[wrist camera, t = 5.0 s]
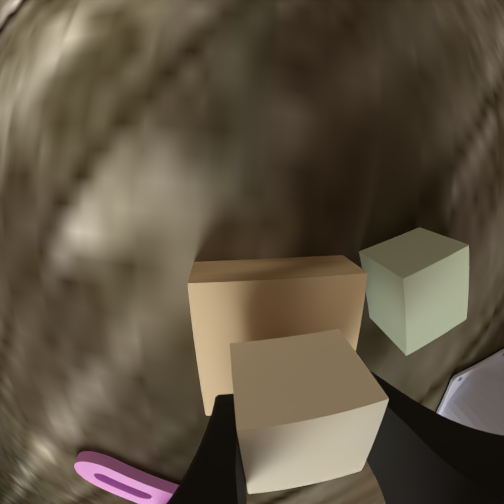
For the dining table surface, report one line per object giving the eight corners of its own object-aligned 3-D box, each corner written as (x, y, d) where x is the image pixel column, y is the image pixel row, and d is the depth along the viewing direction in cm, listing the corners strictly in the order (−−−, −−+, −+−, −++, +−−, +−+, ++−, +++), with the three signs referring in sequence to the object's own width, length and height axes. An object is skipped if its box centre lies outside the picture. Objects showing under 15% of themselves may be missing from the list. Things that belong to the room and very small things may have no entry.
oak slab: (339, 253, 14) (367, 272, 11) (327, 367, 16) (344, 399, 13) (194, 259, 13) (187, 283, 10) (207, 378, 15) (205, 415, 12)
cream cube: (338, 328, 10) (389, 398, 6) (329, 402, 11) (361, 470, 7) (229, 343, 10) (236, 430, 6) (239, 417, 11) (248, 493, 7)
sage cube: (418, 226, 14) (468, 245, 10) (423, 290, 15) (466, 318, 11) (358, 250, 13) (402, 278, 10) (369, 316, 15) (406, 355, 11)
